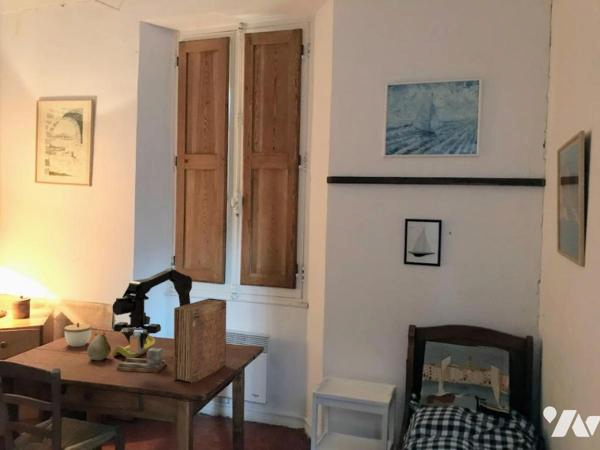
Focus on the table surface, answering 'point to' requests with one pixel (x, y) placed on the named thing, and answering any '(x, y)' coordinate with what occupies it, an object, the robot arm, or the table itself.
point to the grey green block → (135, 343)
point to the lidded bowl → (77, 334)
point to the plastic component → (127, 354)
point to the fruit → (99, 348)
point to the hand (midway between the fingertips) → (137, 347)
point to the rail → (144, 362)
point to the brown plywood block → (199, 339)
